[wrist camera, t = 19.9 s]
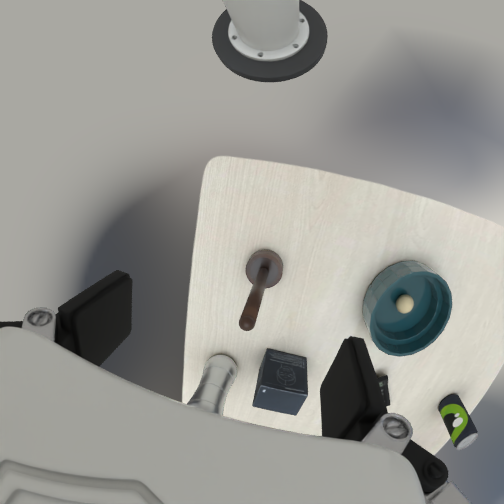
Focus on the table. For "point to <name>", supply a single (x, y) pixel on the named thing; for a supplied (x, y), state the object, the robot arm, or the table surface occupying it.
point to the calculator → (384, 389)
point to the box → (281, 383)
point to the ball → (404, 303)
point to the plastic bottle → (215, 384)
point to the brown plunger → (259, 283)
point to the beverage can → (457, 421)
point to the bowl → (414, 322)
